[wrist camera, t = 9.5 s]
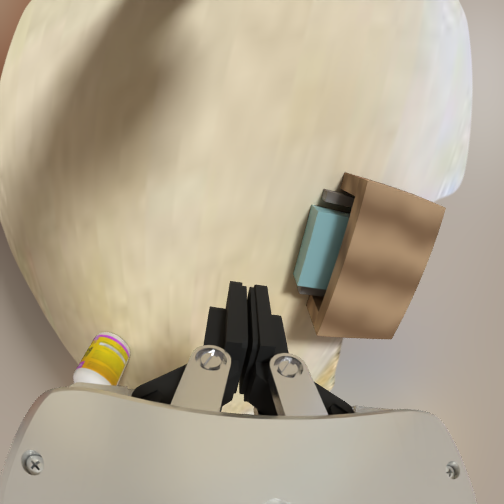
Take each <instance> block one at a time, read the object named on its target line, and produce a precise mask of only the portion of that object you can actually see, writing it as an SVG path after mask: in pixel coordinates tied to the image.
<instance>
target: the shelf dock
mask: <svg viewBox="0 0 504 504" xmlns="http://www.w3.org/2000/svg"><path fill="white" fill-rule="evenodd" d="M341 189H342V190H344V191H346V192H348V193H350V194H352V195H354V196H355V197H354V196H351V195H347V194H343V193H339V192H335V191H331V190H327V189H324V191H323V195H322V199H323V200H324V201H325V202H330V203H334V204H338V205H342V206H346V207H350V208H352V210H351V213H350V217H349V221H348V224H347V227H346V231H345V234H344V238H343V241H342V244H341V247H340V251H339V254H338V257H337V260H336V263H335V266H334V269H333V272H332V275H331V278H330V281H329V284H328V287H327V290H325V289H318V288H311V287H304V286H298V287H297V288H298V291H299V294H306V295H310V296H309V299H308V302H307V305H306V306H307V308H308V311H309V314H310V317H311V320H312V323H313V326H314V328H315V331H316V334H317V336H328V337H344V338H367V339H368V338H369V339H392V337H393V336H394V333H395V332H396V330H397V328H398V326H399V324H400V322H401V320H402V318H403V316H404V314H405V312H406V310H407V308H408V306H409V304H410V302H411V300H412V298H413V295H414V293H415V291H416V288H417V286H418V284H419V282H420V279H421V277H422V274H423V272H424V270H425V267H426V265H427V262H428V260H429V257H430V254H431V252H432V249H433V246H434V243H435V240H436V237H437V235H438V232H439V228H440V225H441V222H442V219H443V215H444V212H445V209H446V208H445V207H442V206H440V205H438V204H436V203H433V202H431V201H429V200H426V199H424V198H421V197H419V196H416V195H414V194H411V193H408V192H405V191H403V190H400V189H397V188H394V187H391V186H388V185H385V184H382V183H379V182H375V181H372V180H369V179H366V178H362V177H359V176H356V175H352V174H349V173H344V177H343V181H342V185H341Z"/></svg>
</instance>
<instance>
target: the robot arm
mask: <svg viewBox="0 0 504 504" xmlns="http://www.w3.org/2000/svg"><path fill="white" fill-rule="evenodd" d="M238 383H239V393H240V394H244V401H247V402H249V403H250V404H252V405H253V406H254V415H249V414H236V413H225V412H221V410H222V406H224V405H225V404H227V403H228V402H230V401H231V400H232V398H233V394H234V393H236V391H237V387H238ZM0 504H477V500H476V497H475V493H474V490H473V487H472V484H471V481H470V479H469V476H468V473H467V470H466V468H465V465H464V462H463V460H462V457H461V455H460V453H459V451H458V449H457V446H456V445H455V443H454V440H453V438H452V436H451V435H450V433H449V431H448V430H447V428H446V426H445V425H444V423H443V422H442V421H441V420H440V419H439V418H438V417H437V416H435V415H434V414H431V413H428V412H425V411H419V410H411V409H397V410H396V409H394V410H393V409H383V408H372V407H362V406H355V407H354V408H352V407H351V406H350V405H349V404H347V403H346V402H345V401H343V400H341V399H340V398H338V397H337V396H335V395H334V394H332V393H331V392H329V391H328V390H326V389H324V388H323V387H321V386H320V385H318V384H317V383H315V382H314V381H313V379H312V377H311V374H310V372H309V370H308V368H307V365H306V364H305V362H304V361H303V360H302V359H301V358H299V357H298V356H296V355H293V354H289V353H288V348H287V343H286V337H285V332H284V327H283V322H282V318H281V316H279V315H271V309H270V302H269V295H268V289H267V286H262V285H255V286H254V288H253V287H250V288H249V293H248V297H247V287H246V286H242V283H240V282H233V281H230V285H229V291H228V297H227V303H226V309H223V308H216V307H210V309H209V315H208V321H207V327H206V333H205V339H204V345H203V346H200V347H198V348H196V349H195V350H194V351H193V352H192V354H191V356H190V359H189V361H188V364H186V365H184V366H182V367H180V368H178V369H176V370H173V371H171V372H169V373H167V374H165V375H163V376H160V377H158V378H156V379H154V380H152V381H149V382H147V383H145V384H143V385H140V386H139V387H137V388H136V389H128V388H127V386H114V385H102V384H93V383H84V382H76V383H74V384H71V385H70V386H69V387H59V388H54V389H50V390H47V391H46V392H44V393H43V394H42V395H40V396H39V397H38V398H37V399H36V400H35V402H34V403H33V404H32V406H31V407H30V409H29V410H28V412H27V414H26V415H25V417H24V419H23V421H22V422H21V424H20V427H19V429H18V431H17V433H16V435H15V437H14V439H13V442H12V444H11V447H10V449H9V452H8V455H7V457H6V460H5V464H4V466H3V469H2V472H1V476H0Z"/></svg>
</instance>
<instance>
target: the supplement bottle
mask: <svg viewBox="0 0 504 504" xmlns="http://www.w3.org/2000/svg"><path fill="white" fill-rule="evenodd" d="M129 358H130V349H129V347H128V345H127V344H126V342H125V341H124V340H123V339H121V338H120V337H119V336H117V335H115V334H113V333H110V332H101V333H99V334H98V335H97V336H96V337H95V338H94V340H93V342H92V343H91V345H90V347H89V348H88V350H87V352H86V353H85V355H84V357H83V358H82V360H81V362H80V364H79V365H78V367H77V369H76V371H75V372H74V375H73V380H74V383H76V382H84V383H93V384H102V385H114V386H118V383H119V381H120V379H121V376H122V374H123V372H124V369H125V367H126V365H127V363H128V360H129Z"/></svg>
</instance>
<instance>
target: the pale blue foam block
mask: <svg viewBox="0 0 504 504" xmlns="http://www.w3.org/2000/svg"><path fill="white" fill-rule="evenodd" d="M349 217H350V214H349V213H345V212H341V211H337V210H333V209H328V208H324V207H320V206H315V205H311V209H310V213H309V217H308V221H307V225H306V229H305V233H304V236H303V240H302V244H301V248H300V251H299V255H298V259H297V262H296V266H295V269H294V273H293V275H294V278H295V280H296V283H297V286H304V287H311V288H318V289H325V290H327V287H328V284H329V281H330V278H331V275H332V272H333V269H334V266H335V263H336V260H337V257H338V254H339V251H340V247H341V244H342V241H343V238H344V234H345V231H346V227H347V224H348V221H349Z"/></svg>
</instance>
